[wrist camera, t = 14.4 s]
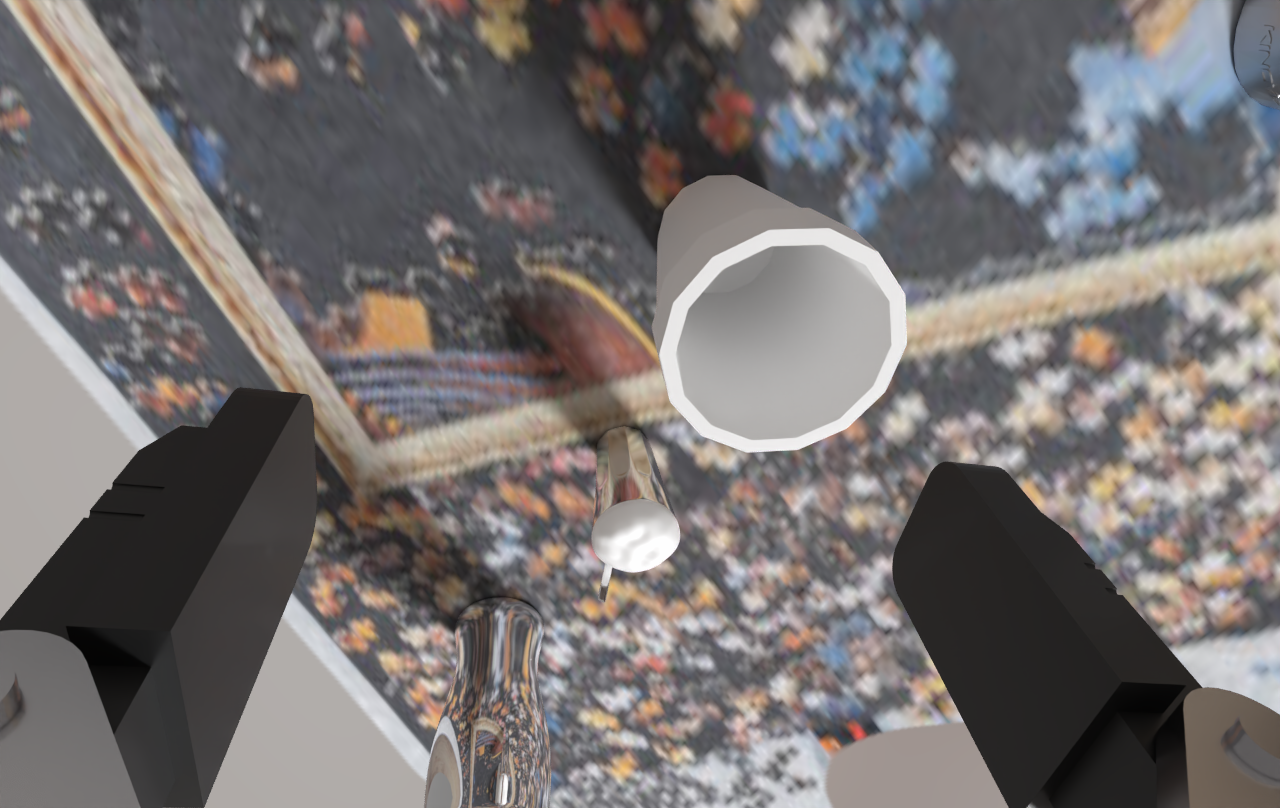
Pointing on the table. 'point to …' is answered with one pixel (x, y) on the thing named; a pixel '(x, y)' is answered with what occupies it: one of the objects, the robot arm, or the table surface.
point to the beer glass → (493, 714)
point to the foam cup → (770, 317)
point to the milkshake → (630, 506)
